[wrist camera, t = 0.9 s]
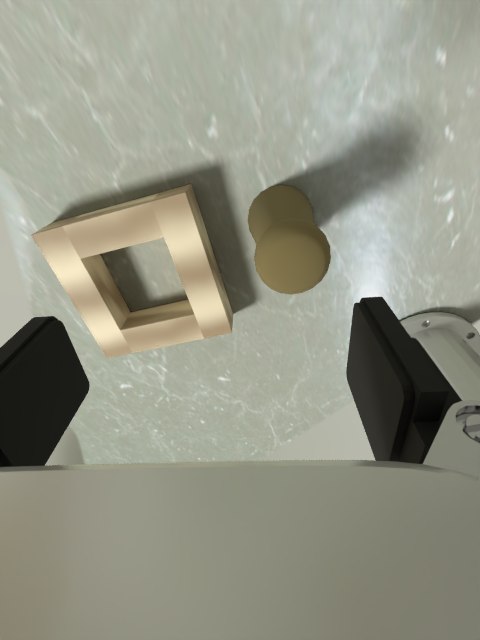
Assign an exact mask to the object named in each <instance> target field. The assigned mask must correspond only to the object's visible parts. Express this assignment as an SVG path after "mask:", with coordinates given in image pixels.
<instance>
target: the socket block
mask: <svg viewBox="0 0 480 640" xmlns="http://www.w3.org/2000/svg"><path fill="white" fill-rule="evenodd" d="M31 236H32V237H33V239H34V240H35V242H36V244H37V245H38V247H39V249H40V250H41V252H42V253H43V255H44V257H45V258H46V260H47V262H48V263H49V265H50V266H51V268H52V270H53V271H54V273H55V275H56V276H57V278H58V279H59V281H60V283H61V284H62V286H63V287H64V289H65V291H66V292H67V294H68V296H69V297H70V299H71V300H72V302H73V304H74V305H75V307H76V309H77V310H78V312H79V313H80V315H81V317H82V318H83V320H84V322H85V323H86V325H87V326H88V328H89V330H90V331H91V333H92V334H93V336H94V338H95V339H96V341H97V343H98V344H99V346H100V347H101V349H102V351H103V352H104V354H105V356H106V357H107V358H110V357H115V356H120V355H125V354H130V353H135V352H139V351H144V350H149V349H154V348H159V347H164V346H169V345H174V344H179V343H183V342H188V341H193V340H198V339H203V338H208V337H213V336H218V335H223V334H227V333H232V324H233V312H232V309H231V306H230V303H229V300H228V297H227V294H226V291H225V287H224V284H223V281H222V278H221V275H220V272H219V269H218V266H217V262H216V259H215V256H214V253H213V250H212V247H211V244H210V240H209V237H208V234H207V231H206V228H205V225H204V222H203V219H202V215H201V212H200V209H199V206H198V203H197V200H196V197H195V193H194V190H193V187H192V184H189V185H185V186H182V187H178V188H175V189H171V190H167V191H164V192H160V193H157V194H153V195H150V196H146V197H142V198H139V199H135V200H132V201H128V202H125V203H121V204H118V205H114V206H110V207H107V208H103V209H100V210H96V211H93V212H89V213H85V214H82V215H78V216H75V217H71V218H68V219H64V220H61V221H57V222H53V223H51V224H49V225H47V226H46V227H44V228H42V229H41V230H39V231H37V232H36V233H34V234H32V235H31ZM163 237H164V238H165V241H166V244H167V246H168V249H169V251H170V254H171V256H172V259H173V261H174V264H175V266H176V269H177V271H178V274H179V277H180V279H181V282H182V284H183V287H184V289H185V292H186V294H187V297H188V300H184V301H179V302H175V303H170V304H166V305H161V306H157V307H152V308H148V309H144V310H139V311H135V312H130V311H129V309H128V307H127V305H126V303H125V301H124V299H123V297H122V295H121V294H120V292H119V290H118V288H117V286H116V284H115V282H114V280H113V278H112V276H111V274H110V272H109V270H108V268H107V266H106V265H105V263H104V261H103V259H102V257H101V255H100V254H101V253H105V252H109V251H113V250H117V249H121V248H125V247H128V246H132V245H136V244H140V243H144V242H148V241H152V240H156V239H159V238H163Z"/></svg>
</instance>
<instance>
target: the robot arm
mask: <svg viewBox="0 0 480 640" xmlns="http://www.w3.org/2000/svg"><path fill="white" fill-rule="evenodd" d="M347 381H348V384H349V387H350V389H351V392H352V395H353V398H354V401H355V403H356V406H357V409H358V411H359V415H360V418H361V420H362V423H363V426H364V429H365V432H366V434H367V437H368V440H369V443H370V446H371V449H372V451H373V454H374V457H375V460H376V461H367V460H285V461H284V460H283V461H227V462H176V463H132V464H91V465H57V466H56V465H55V466H45V464H46V462H47V460H48V459H49V457H50V455H51V454H52V452H53V450H54V449H55V447H56V445H57V444H58V442H59V440H60V439H61V437H62V435H63V434H64V431H65V430H66V429H67V427H68V425H69V424H70V422H71V420H72V418H73V417H74V415H75V413H76V412H77V410H78V408H79V407H80V405H81V403H82V402H83V400H84V398H85V397H86V395H87V393H88V391H89V381H88V379H87V376H86V374H85V372H84V370H83V367H82V365H81V363H80V361H79V358H78V356H77V354H76V352H75V349H74V347H73V345H72V343H71V340H70V338H69V336H68V333H67V331H66V329H65V327H64V325H63V323H62V322H61V321H59V320H58V319H57V318H55V317H53V316H48V317H34V318H33V319H31V320H30V321H29V322H28V323H27V324H26V325H25V326H24V327H23V328H21V329H20V330H19V331H18V332H17V333H16V334H15V335H14V336H13V337H12V338H11V339H10V340H8V341H7V342H6V343H5V344H4V345H3V346H2V347H1V348H0V640H480V335H479V333H478V331H477V330H476V329H475V328H474V327H473V326H472V325H471V324H470V323H469V322H468V321H466V320H465V319H463V318H462V317H459V316H457V315H454V314H450V313H444V312H430V313H424V314H419V315H415V316H412V317H409V318H407V319H404V320H402V321H399V320H398V318H397V317H396V316H395V314H394V313H393V311H392V310H391V309H390V307H389V306H388V304H387V303H386V301H385V300H384V299H383V298H382V297H369V298H362V299H361V300H360V303H355V304H354V308H353V317H352V326H351V335H350V344H349V353H348V362H347Z"/></svg>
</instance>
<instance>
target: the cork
mask: <svg viewBox="0 0 480 640" xmlns="http://www.w3.org/2000/svg"><path fill="white" fill-rule="evenodd" d="M248 224H249V230H250V232H251V234H252V236H253V238H254V240H255V242H256V244H257V245H256V249H255V256H254V260H255V266H256V271H257V272H258V274H259V276H260V278H261V279H262V281H263V282H264V283H265V284H266V285H267V286H268V287H270V288H271V289H273V290H275V291H277V292H280V293H285V294H296V293H302V292H305V291H307V290H309V289H311V288H313V287H314V286H315V285H317V284H318V283H319V282H320V281H321V280H322V279H323V277H324V276H325V274H326V273H327V271H328V267H329V264H330V259H331V256H330V245H329V243H328V241H327V238H326V236H325V234H324V233H323V232H322V231H321V230H320V229H319V228H318V227H317V226H316V225H315V224H314V218H313V211H312V206H311V204H310V202H309V199H308V198H307V197H306V196H305V195H304V193H303V192H302V191H300V190H298V189H297V188H295V187H293V186H287V185H277V186H272V187H269V188H268V189H266V190H264V191H262V192H261V193H260V194H259V195H258V196H257V197H256V198H255V199H254V201H253V203H252V205H251V207H250V209H249V215H248Z"/></svg>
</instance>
